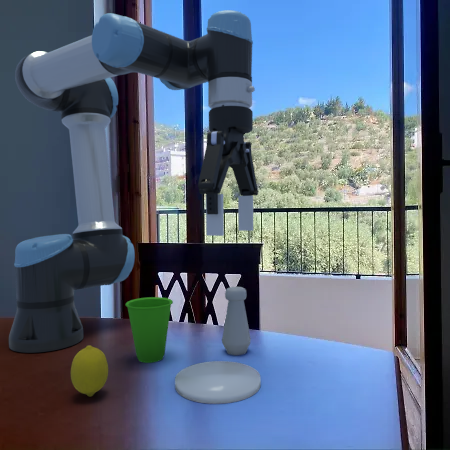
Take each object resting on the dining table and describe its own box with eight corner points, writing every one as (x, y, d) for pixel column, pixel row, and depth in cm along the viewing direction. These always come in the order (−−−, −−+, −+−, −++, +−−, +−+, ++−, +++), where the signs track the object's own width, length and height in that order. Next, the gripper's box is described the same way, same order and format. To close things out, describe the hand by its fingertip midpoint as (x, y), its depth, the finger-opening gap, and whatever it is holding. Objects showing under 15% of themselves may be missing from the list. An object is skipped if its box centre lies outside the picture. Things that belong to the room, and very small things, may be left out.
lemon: (88, 407, 61) (86, 354, 61) (63, 399, 64) (62, 347, 64) (116, 393, 66) (115, 343, 65) (92, 385, 69) (91, 337, 68)
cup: (165, 368, 76) (163, 308, 75) (118, 365, 78) (117, 306, 77) (180, 351, 85) (178, 297, 84) (138, 349, 86) (136, 296, 86)
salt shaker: (216, 352, 84) (215, 288, 83) (235, 345, 88) (234, 283, 87) (238, 359, 80) (237, 291, 79) (256, 351, 84) (255, 287, 83)
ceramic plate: (159, 381, 70) (159, 374, 70) (225, 361, 78) (225, 355, 78) (207, 413, 59) (207, 404, 59) (278, 386, 67) (278, 379, 67)
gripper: (220, 87, 58) (221, 238, 59) (273, 120, 81) (274, 229, 82) (173, 94, 61) (176, 237, 62) (237, 123, 84) (238, 228, 85)
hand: (231, 233), depth 72 cm, fingers open, 13 cm apart
